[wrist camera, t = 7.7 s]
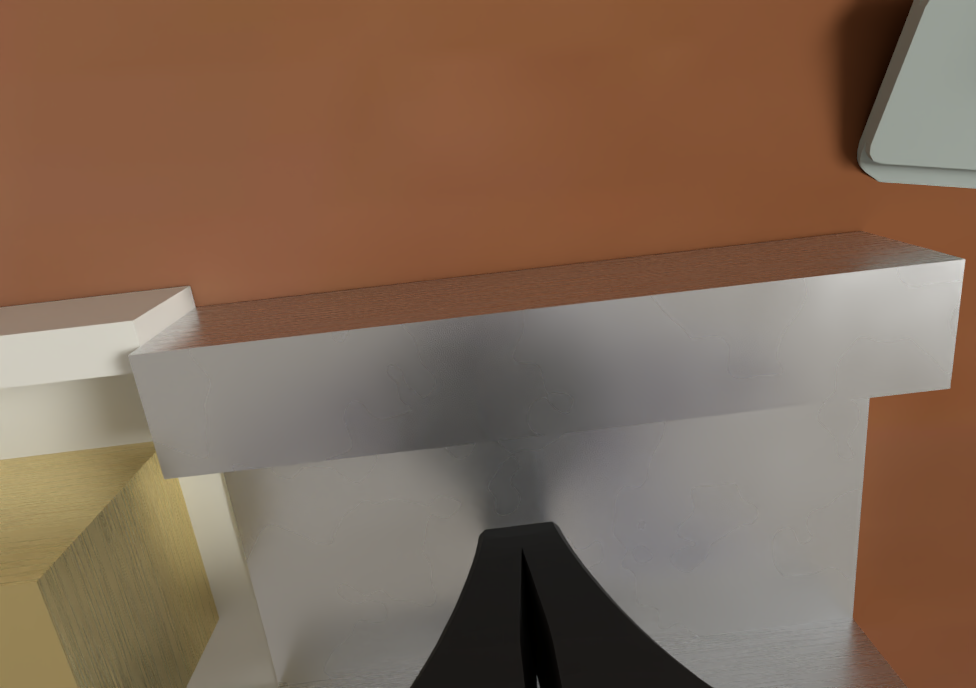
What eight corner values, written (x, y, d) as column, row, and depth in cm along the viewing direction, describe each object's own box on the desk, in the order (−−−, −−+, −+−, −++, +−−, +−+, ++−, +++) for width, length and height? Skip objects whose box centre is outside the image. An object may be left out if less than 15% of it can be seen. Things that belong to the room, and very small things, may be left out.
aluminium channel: (831, 671, 15) (903, 777, 13) (303, 734, 15) (273, 852, 13) (862, 230, 12) (964, 259, 10) (195, 307, 12) (127, 355, 10)
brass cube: (219, 618, 14) (125, 812, 10) (21, 642, 14) (-150, 845, 10) (167, 439, 12) (36, 581, 8) (-52, 466, 12) (-280, 621, 8)
